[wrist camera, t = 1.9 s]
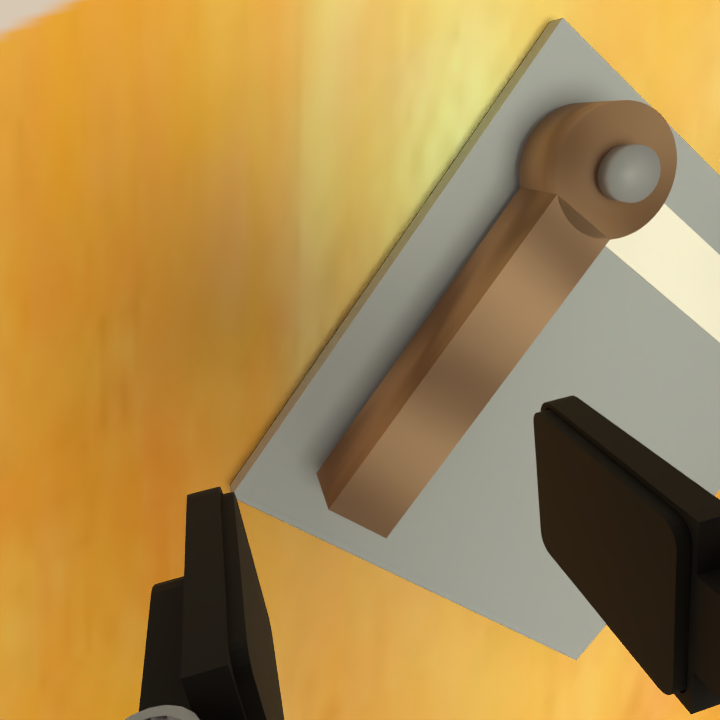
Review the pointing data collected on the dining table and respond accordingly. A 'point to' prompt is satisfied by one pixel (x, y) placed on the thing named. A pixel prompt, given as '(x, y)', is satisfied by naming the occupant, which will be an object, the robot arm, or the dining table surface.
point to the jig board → (520, 363)
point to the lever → (494, 307)
